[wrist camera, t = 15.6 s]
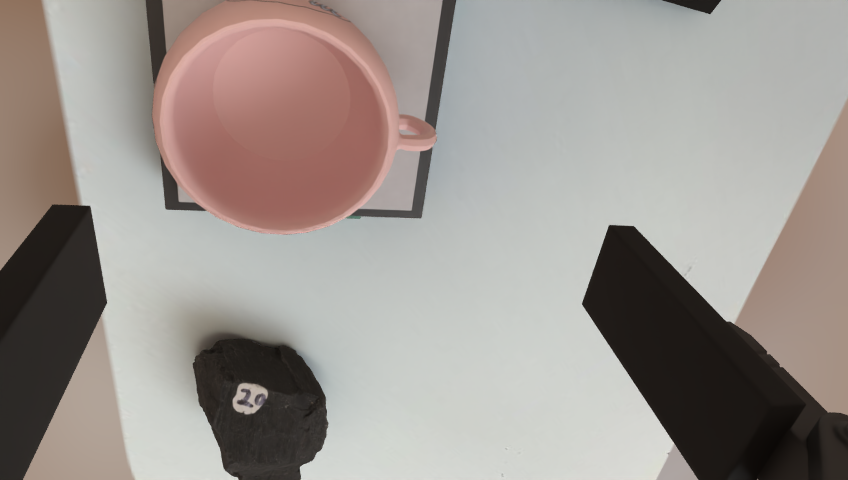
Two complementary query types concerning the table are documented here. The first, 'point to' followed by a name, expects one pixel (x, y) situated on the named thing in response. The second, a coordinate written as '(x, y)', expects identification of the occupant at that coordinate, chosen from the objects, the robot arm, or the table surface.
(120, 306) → the table surface
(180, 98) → the mug
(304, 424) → the rock
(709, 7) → the remote control
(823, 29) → the table surface
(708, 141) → the table surface
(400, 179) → the scale
